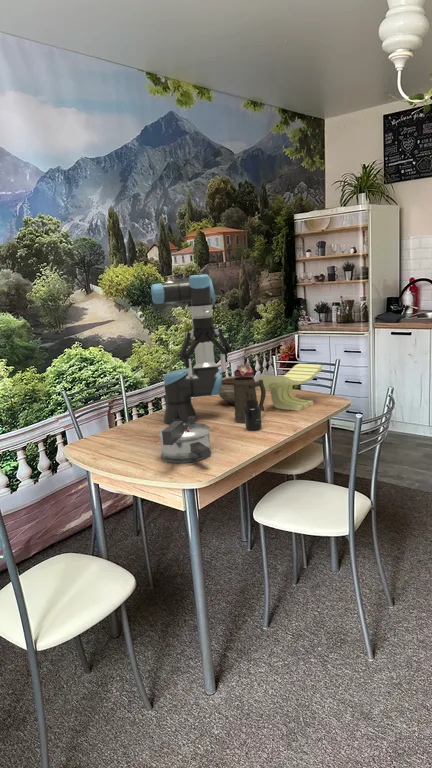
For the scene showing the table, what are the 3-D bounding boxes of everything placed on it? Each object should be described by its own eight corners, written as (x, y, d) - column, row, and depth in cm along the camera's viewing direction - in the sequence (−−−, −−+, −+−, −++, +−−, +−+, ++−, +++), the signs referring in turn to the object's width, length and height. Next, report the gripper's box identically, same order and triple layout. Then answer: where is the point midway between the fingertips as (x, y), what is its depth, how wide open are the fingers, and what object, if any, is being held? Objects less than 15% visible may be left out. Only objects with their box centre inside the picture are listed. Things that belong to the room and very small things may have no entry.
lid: (171, 424, 213) (169, 409, 211) (216, 424, 208) (215, 408, 206) (142, 449, 185) (140, 431, 184) (194, 449, 180) (192, 431, 179)
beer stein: (240, 424, 235) (240, 380, 232) (229, 420, 244) (228, 377, 241) (270, 420, 242) (269, 377, 238) (257, 416, 251) (257, 374, 248)
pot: (152, 451, 208) (150, 431, 207) (196, 442, 216) (194, 422, 214) (182, 474, 181) (179, 452, 179) (231, 463, 188) (229, 441, 187)
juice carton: (255, 409, 260) (252, 364, 256) (244, 411, 257) (240, 366, 253) (248, 406, 266) (245, 362, 262) (236, 409, 263) (233, 364, 259)
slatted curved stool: (295, 397, 277) (293, 363, 274) (322, 400, 267) (321, 364, 263) (260, 411, 256) (257, 374, 252) (288, 415, 245) (285, 376, 242)
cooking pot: (230, 396, 292) (228, 374, 290) (263, 397, 284) (261, 374, 281) (210, 407, 270) (207, 384, 268) (244, 409, 262) (243, 384, 260)
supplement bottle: (260, 430, 224) (259, 402, 221) (244, 431, 225) (242, 403, 223) (262, 426, 230) (261, 398, 228) (247, 426, 232) (245, 399, 229)
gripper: (173, 321, 192) (179, 379, 196) (237, 314, 200) (241, 370, 205) (167, 320, 199) (172, 376, 203) (229, 313, 207) (233, 367, 211)
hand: (207, 373), depth 204 cm, fingers open, 13 cm apart
